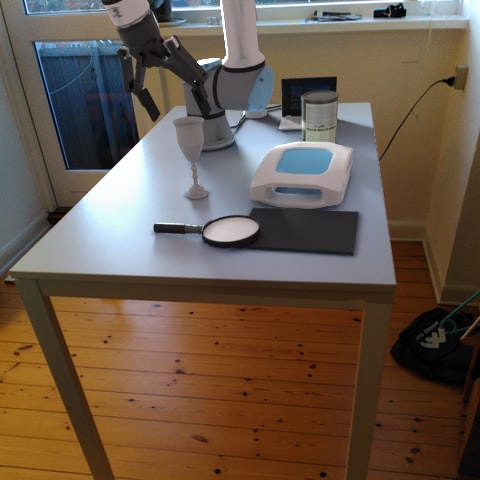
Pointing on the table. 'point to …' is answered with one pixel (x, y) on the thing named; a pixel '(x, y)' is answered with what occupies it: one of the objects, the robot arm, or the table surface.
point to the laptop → (292, 97)
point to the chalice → (191, 148)
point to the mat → (305, 231)
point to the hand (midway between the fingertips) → (181, 116)
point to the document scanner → (303, 174)
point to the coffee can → (319, 116)
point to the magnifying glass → (219, 231)
